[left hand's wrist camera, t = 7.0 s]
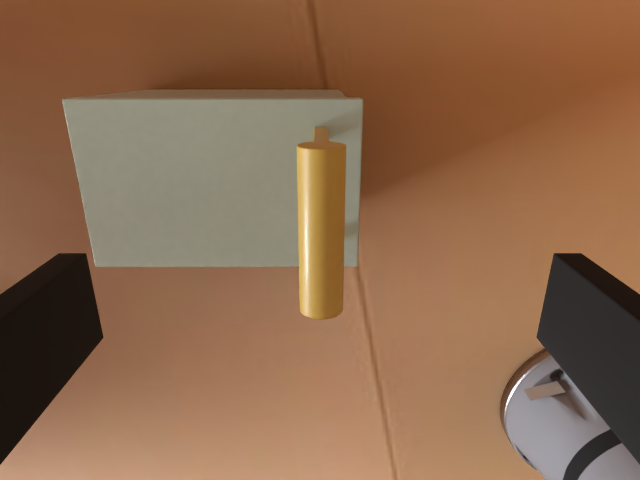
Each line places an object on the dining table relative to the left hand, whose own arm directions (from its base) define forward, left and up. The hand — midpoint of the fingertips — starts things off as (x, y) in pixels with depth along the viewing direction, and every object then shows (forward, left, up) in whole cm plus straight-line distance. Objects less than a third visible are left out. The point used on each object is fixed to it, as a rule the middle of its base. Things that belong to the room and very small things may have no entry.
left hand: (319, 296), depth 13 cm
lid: (+5, 0, -13) cm, 14 cm away
